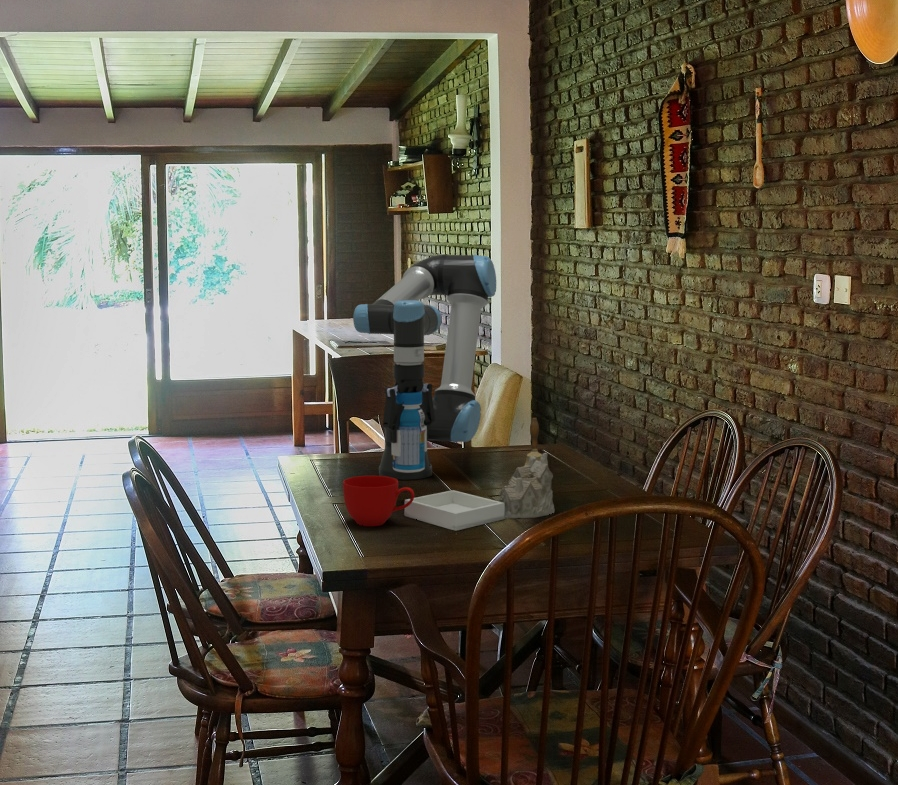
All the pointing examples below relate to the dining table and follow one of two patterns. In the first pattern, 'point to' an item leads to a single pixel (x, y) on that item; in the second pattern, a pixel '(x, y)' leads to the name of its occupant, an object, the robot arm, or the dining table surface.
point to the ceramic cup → (372, 498)
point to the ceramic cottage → (529, 491)
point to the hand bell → (534, 441)
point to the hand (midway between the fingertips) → (409, 452)
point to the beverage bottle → (411, 434)
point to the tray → (455, 510)
